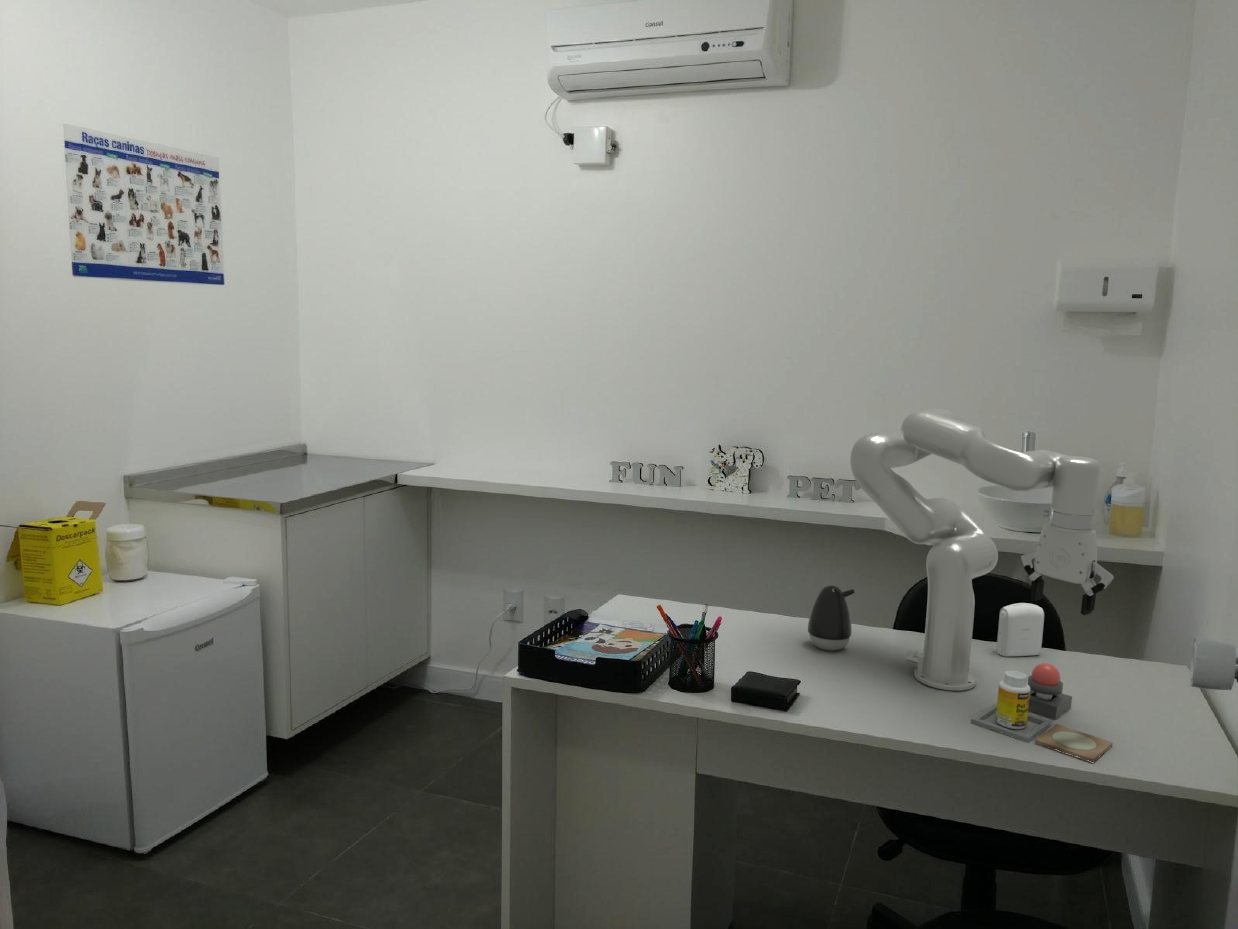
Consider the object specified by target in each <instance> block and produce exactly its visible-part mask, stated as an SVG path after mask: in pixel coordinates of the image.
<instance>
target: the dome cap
mask: <svg viewBox="0 0 1238 929" xmlns="http://www.w3.org/2000/svg"><path fill="white" fill-rule="evenodd" d="M1027 684H1028V685H1029V686H1030V689H1031V690H1033V691H1035V692H1036V697H1038V698H1041V699H1044V700H1048V701H1052V695H1058V694H1061V693H1062V694H1063V689H1064V688H1063V687H1064V683H1063V681H1062V680H1061V673H1060V671H1059V669H1058V668H1057V667H1056V666H1055V665H1053V664H1052V663H1051V664H1050V663H1048V662H1043V663H1042V662H1041V663H1039V664H1036V666H1035V667H1034V668H1033V669H1032V671H1031V675H1029V676H1027Z"/></svg>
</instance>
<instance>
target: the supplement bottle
mask: <svg viewBox="0 0 1238 929" xmlns="http://www.w3.org/2000/svg"><path fill="white" fill-rule="evenodd" d="M1029 698H1030V686H1029V685H1028V675H1027V674H1026V673H1025V672H1022V671H1018V670H1011V669H1010V670H1005V671H1004V676H1003V679H1002V680H1000V681H999V683H998V691H997V702H996V704H997V711H996V712H995V713H996V714H995V721H996V723H997V724H999V726H1000V727H1003V728H1006V729H1009V730H1011V729H1012V730H1022V729H1024V728H1026V726H1027V724H1028V720H1027V717H1028V714H1029V711H1028V708H1029Z"/></svg>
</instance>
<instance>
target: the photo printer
mask: <svg viewBox="0 0 1238 929" xmlns="http://www.w3.org/2000/svg"><path fill="white" fill-rule="evenodd" d="M999 610H1000V611H999V616H998V617H999V619H998V629H997V630H998V631H997V640H996V652H997V654H998V655H999V654H1000V656H1001V655H1002V656H1001V657H1024V656H1025V657H1026V656H1038V655H1039V656H1040V655H1041V653H1042V646H1043V645H1042V644H1043V635H1044V634H1043V633H1044V625H1045V624H1044V622H1045V612H1044V609H1043V608H1042V607H1040V606H1039V605H1037V604H1033V603H1026V602H1018V603H1012V604H1009V605H1006V606H1003V607H1002V608H1000V609H999Z"/></svg>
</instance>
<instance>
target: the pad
mask: <svg viewBox="0 0 1238 929" xmlns="http://www.w3.org/2000/svg"><path fill="white" fill-rule="evenodd" d="M1034 741H1035V742H1034V744H1035V743H1037V744H1039V745H1038V746H1040V745H1041V747H1043V746H1046V747H1049V748H1051V749H1050V750H1052V749H1057V750H1059V751H1061V752H1064V753H1068V754H1071V755H1073V756H1078V757H1080V758H1082V759H1084V760H1089V761H1091V762H1094V761H1095V760H1096V761H1098V760H1099V759H1100V758H1099V756H1101V755H1102V754H1103V753H1104V754H1105V753H1107V752H1108V751H1109V750H1110V749H1111V748H1112V747H1113V744H1114V742H1113V741H1111V740H1107V739H1103V738H1101V737H1098V736H1094V735H1091V734H1089V733H1085V732H1082V731H1079V730H1077V729H1074V728H1070V727H1067V726H1064V725H1061V724H1057V723H1056V724H1054V725H1053V726H1050V727H1049V728H1048V730H1047V729H1046V730H1045V731H1044V732H1043V733H1041V735H1040V736H1037V737H1036V739H1035V740H1034ZM1037 744H1036V745H1037ZM1111 746H1112V747H1111ZM1046 747H1045V748H1046ZM1110 747H1111V748H1110ZM1049 748H1048V749H1049ZM1108 749H1109V750H1108ZM1107 750H1108V751H1107ZM1061 752H1060V753H1061ZM1064 753H1063V754H1064ZM1104 754H1103V755H1104ZM1103 755H1102V756H1103ZM1102 756H1101V757H1102ZM1098 758H1099V759H1098ZM1097 759H1098V760H1097ZM1084 760H1083V761H1084ZM1096 761H1095V762H1096ZM1095 762H1094V763H1095Z"/></svg>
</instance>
